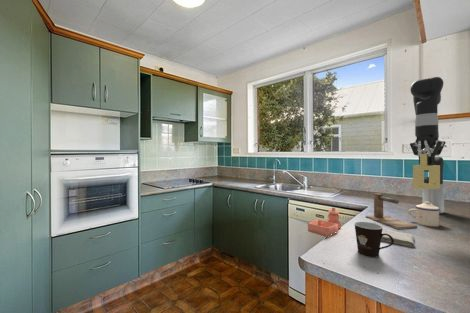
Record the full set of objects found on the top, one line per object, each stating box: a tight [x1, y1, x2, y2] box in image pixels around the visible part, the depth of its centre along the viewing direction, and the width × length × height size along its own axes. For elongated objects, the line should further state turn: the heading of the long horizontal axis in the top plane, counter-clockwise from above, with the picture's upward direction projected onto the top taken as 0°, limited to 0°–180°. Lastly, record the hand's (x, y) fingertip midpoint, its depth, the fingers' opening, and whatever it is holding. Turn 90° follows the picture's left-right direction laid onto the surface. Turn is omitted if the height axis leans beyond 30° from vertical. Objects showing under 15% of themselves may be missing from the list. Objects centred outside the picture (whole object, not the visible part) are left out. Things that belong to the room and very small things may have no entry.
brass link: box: [412, 153, 440, 190], centre depth 94 cm, size 10×3×15 cm, turn 99°
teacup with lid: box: [408, 202, 440, 227], centre depth 111 cm, size 12×9×12 cm
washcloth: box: [381, 228, 415, 248], centre depth 93 cm, size 12×18×3 cm, turn 51°
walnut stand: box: [365, 192, 418, 230], centre depth 113 cm, size 20×11×14 cm, turn 9°
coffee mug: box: [354, 221, 395, 258], centre depth 77 cm, size 12×9×10 cm
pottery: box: [307, 207, 342, 238], centre depth 103 cm, size 18×10×10 cm, turn 129°
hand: (426, 165), depth 94 cm, fingers closed on brass link, 3 cm apart
